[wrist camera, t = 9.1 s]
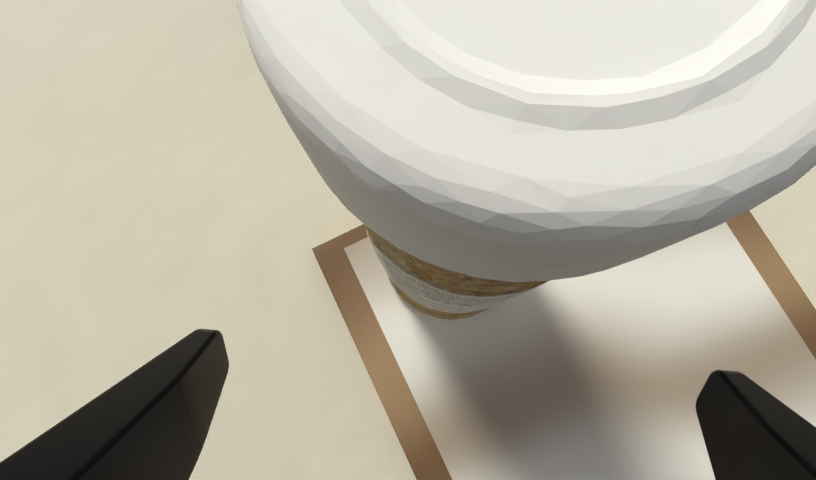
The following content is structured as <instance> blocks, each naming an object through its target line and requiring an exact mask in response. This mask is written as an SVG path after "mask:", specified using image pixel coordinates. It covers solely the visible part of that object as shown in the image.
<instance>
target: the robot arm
mask: <svg viewBox="0 0 816 480" xmlns="http://www.w3.org/2000/svg"><path fill="white" fill-rule="evenodd" d="M228 368H229V361H228V356H227V352H226V348H225V344H224V340H223V336H222V334H221V332H220V331H217V330H209V329H198V330H195V331H194V332H192V333H191V334H189V335H188V336H186V337H185V338H183V339H182V340H180V341H179V342H177V343H176V344H174V345H173V346H171V347H170V348H168V349H167V350H166V351H164V352H163V353H161V354H160V355H158V356H157V357H155V358H154V359H152V360H151V361H149V362H148V363H146V364H145V365H143V366H142V367H140V368H139V369H138V370H136V371H135V372H133V373H132V374H130V375H129V376H127V377H126V378H124V379H123V380H121V381H120V382H118V383H117V384H115V385H114V386H112V387H111V388H109V389H108V390H107V391H105V392H104V393H102V394H101V395H99V396H98V397H96V398H95V399H93V400H92V401H90V402H89V403H87V404H86V405H84V406H83V407H81V408H80V409H79V410H77V411H76V412H74V413H73V414H71V415H70V416H68V417H67V418H65V419H64V420H62V421H61V422H59V423H58V424H56V425H55V426H53V427H52V428H50V429H49V430H48V431H46V432H45V433H43V434H42V435H40V436H39V437H37V438H36V439H34V440H33V441H31V442H30V443H28V444H27V445H25V446H24V447H22V448H21V449H20V450H18V451H17V452H15V453H14V454H12V455H11V456H9V457H8V458H6V459H5V460H3V461H2V462H0V480H189V478H190V476H191V473H192V471H193V469H194V467H195V465H196V462H197V460H198V458H199V455H200V453H201V451H202V448H203V445H204V442H205V440H206V437H207V434H208V431H209V428H210V425H211V422H212V419H213V416H214V413H215V410H216V407H217V404H218V401H219V398H220V395H221V392H222V389H223V385H224V382H225V379H226V376H227V373H228ZM696 413H697V417H698V420H699V424H700V427H701V431H702V434H703V438H704V441H705V445H706V448H707V452H708V455H709V459H710V462H711V466H712V469H713V473H714V476H715V480H816V427H815V426H814V425H812V424H811V423H810V422H808V421H807V420H805V419H804V418H803V417H801V416H800V415H799V414H797V413H796V412H795V411H793V410H792V409H791V408H789V407H788V406H786V405H785V404H784V403H782V402H781V401H780V400H778V399H777V398H776V397H774V396H773V395H772V394H770V393H769V392H767V391H766V390H765V389H763V388H762V387H761V386H759V385H758V384H757V383H755V382H754V381H753V380H751V379H750V378H749V377H747V376H746V375H744V374H743V373H741V372H738V371H731V370H714V371H713V372H711V373H710V375H709V377H708V379H707V381H706V382H705V384H704V386H703V388H702V390H701V392H700V394H699V395H698V397H697V400H696Z"/></svg>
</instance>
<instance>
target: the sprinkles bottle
mask: <svg viewBox="0 0 816 480" xmlns="http://www.w3.org/2000/svg"><path fill="white" fill-rule="evenodd" d="M237 4H238V9H239V13H240V16H241V20H242V23H243V26H244V29H245V33H246V36H247V39H248V42H249V45H250V47H251V50H252V53H253V55H254V58H255V60H256V63H257V65H258V67H259V69H260V71H261V73H262V75H263V77H264V79H265V81H266V83H267V85H268V87H269V89H270V91H271V93H272V95H273V97H274V98H275V100H276V102H277V104H278V106H279V107H280V109H281V111H282V113H283V115H284V117H285V118H286V120H287V122H288V124H289V126H290V127H291V129H292V130H293V132H294V134H295V135H296V137H297V139H298V140H299V142H300V143H301V145H302V147H303V148H304V150H305V151H306V153H307V155H308V156H309V158H310V159H311V161H312V163H313V164H314V166H315V168H316V169H317V171H318V172H319V174H320V175H321V177H322V178H323V179H324V181H325V182H326V184H327V185H328V186H329V188H330V189H331V190H332V192H333V193H334V194H335V195H336V196H337V197H338V199H339V200H340V201H341V202H342V203H343V205H344V206H345V207H346V208H347V209H348V210H349V211H350V212H351V213H352V214H354V215H355V216H356V217H357V218H358V219H359V220H360V221H361V222H362V223H364V225H365V228H366V232H367V235H368V238H369V240H370V243H371V245H372V248H373V250H374V252H375V253H376V255H377V257H378V259H379V261H380V262H381V264H382V266H383V267H384V269H385V271H386V273H387V275H388V277H389V280H390V283H391V284H392V286H393V287H394V288H395V290H396V292H397V293H398V294H399V295H400V296H401V298H402V299H404V300H405V301H406V302H407V303H409V304H410V305H411V306H412V307H413V308H414V309H416V310H417V311H419V312H421V313H425V314H428V315H431V316H433V317H436V318H441V319H450V320H453V319H463V318H468V317H471V316H474V315H476V314H477V313H480V312H482V311H485V310H487V309H488V308H490V307H492V306H494V305H497V304H499V303H501V302H503V301H506V300H508V299H511V298H513V297H515V296H518V295H520V294H522V293H525V292H527V291H529V290H532V289H534V288H536V287H538V286H540V285H543V284H545V283H547V282H548V281H550V280H558V279H565V278H573V277H580V276H585V275H589V274H593V273H597V272H601V271H604V270H607V269H610V268H613V267H616V266H619V265H621V264H624V263H627V262H630V261H633V260H636V259H639V258H641V257H644V256H646V255H649V254H651V253H653V252H656V251H658V250H661V249H663V248H665V247H668V246H670V245H673V244H675V243H678V242H680V241H682V240H685V239H687V238H690V237H692V236H694V235H697V234H699V233H702V232H704V231H707V230H709V229H711V228H714V227H716V226H718V225H720V224H722V223H724V222H726V221H728V220H730V219H732V218H735V217H737V216H739V215H741V214H743V213H745V212H747V211H749V210H751V209H753V208H754V207H756V206H758V205H759V204H761V203H763V202H764V201H766V200H768V199H769V198H771V197H773V196H774V195H776V194H778V193H779V192H781V191H783V190H784V189H786V188H788V187H789V186H791V185H793V184H794V183H795V182H796V181H798V180H799V179H800V178H801V177H802V176H803V175H805V174H806V173H807V172H808V171H809V170H810V169H812V168H813V167H814V166H815V165H816V0H237Z"/></svg>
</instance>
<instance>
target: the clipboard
mask: <svg viewBox="0 0 816 480" xmlns="http://www.w3.org/2000/svg"><path fill="white" fill-rule="evenodd" d="M312 250H313V252H314V254H315V256H316V259H317V261H318V263H319V265H320V267H321V270H322V272H323V274H324V276H325V278H326V281H327V283H328V285H329V287H330V289H331V292H332V294H333V296H334V298H335V300H336V303H337V305H338V307H339V309H340V311H341V314H342V316H343V318H344V320H345V322H346V325H347V327H348V329H349V331H350V333H351V336H352V338H353V340H354V342H355V344H356V347H357V349H358V351H359V353H360V355H361V358H362V360H363V362H364V364H365V366H366V369H367V371H368V373H369V375H370V377H371V380H372V382H373V384H374V386H375V388H376V391H377V393H378V395H379V397H380V399H381V402H382V404H383V406H384V408H385V410H386V413H387V415H388V417H389V419H390V421H391V424H392V426H393V428H394V430H395V432H396V435H397V437H398V439H399V441H400V443H401V446H402V448H403V450H404V452H405V454H406V457H407V459H408V461H409V463H410V465H411V468H412V470H413V472H414V474H415V476H416V479H417V480H715V476H714V473H713V469H712V466H711V462H710V459H709V455H708V452H707V448H706V445H705V441H704V438H703V434H702V431H701V427H700V424H699V420H698V417H697V413H696V400H697V397H698V395H699V394H700V392H701V390H702V388H703V386H704V384H705V382H706V381H707V379H708V377H709V375H710V373H711V372H713V371H714V370H731V371H738V372H741V373H743V374H744V375H746V376H747V377H749V378H750V379H751V380H753V381H754V382H755V383H757V384H758V385H759V386H761V387H762V388H763V389H765V390H766V391H767V392H769V393H770V394H772V395H773V396H774V397H776V398H777V399H778V400H780V401H781V402H782V403H784V404H785V405H786V406H788V407H789V408H791V409H792V410H793V411H795V412H796V413H797V414H799V415H800V416H801V417H803V418H804V419H805V420H807V421H808V422H810V423H811V424H812V425H814V426H815V427H816V310H815V308H814V307H813V305H812V304H811V302H810V301H809V299H808V298H807V296H806V295H805V293H804V292H803V290H802V289H801V287H800V286H799V284H798V283H797V281H796V280H795V278H794V277H793V275H792V274H791V272H790V271H789V269H788V268H787V266H786V265H785V263H784V262H783V260H782V259H781V257H780V256H779V254H778V253H777V251H776V250H775V248H774V247H773V245H772V244H771V242H770V241H769V239H768V238H767V236H766V235H765V233H764V232H763V230H762V229H761V228H760V226H759V225H758V223H757V222H756V220H755V219H754V217H753V216H752V214H751V213H750V211H747V212H745V213H743V214H741V215H739V216H737V217H735V218H732V219H730V220H728V221H726V222H724V223H722V224H720V225H718V226H716V227H714V228H711V229H709V230H707V231H704V232H702V233H699V234H697V235H694V236H692V237H690V238H687V239H685V240H682V241H680V242H678V243H675V244H673V245H670V246H668V247H665V248H663V249H661V250H658V251H656V252H653V253H651V254H649V255H646V256H644V257H641V258H639V259H636V260H633V261H630V262H627V263H624V264H621V265H619V266H616V267H613V268H610V269H607V270H604V271H601V272H597V273H593V274H589V275H585V276H580V277H573V278H565V279H558V280H550V281H548V282H547V283H545V284H543V285H540V286H538V287H536V288H534V289H532V290H529V291H527V292H525V293H522V294H520V295H518V296H515V297H513V298H511V299H508V300H506V301H503V302H501V303H499V304H497V305H494V306H492V307H490V308H488V309H487V310H485V311H482V312H480V313H477V314H476V315H474V316H471V317H468V318H463V319H453V320H450V319H441V318H436V317H433V316H431V315H428V314H425V313H421V312H419V311H417V310H416V309H414V308H413V307H412V306H411V305H410V304H409V303H407V302H406V301H405V300H404V299H402V298H401V296H400V295H399V294H398V293H397V292H396V290H395V288H394V287H393V286H392V284H391V283H390V280H389V277H388V275H387V273H386V271H385V269H384V267H383V266H382V264H381V262H380V261H379V259H378V257H377V255H376V253H375V252H374V250H373V248H372V245H371V243H370V240H369V238H368V235H367V232H366V228H365V225H364V224H363V225H361V226H359V227H357V228H355V229H353V230H350V231H348V232H346V233H344V234H342V235H340V236H338V237H336V238H334V239H332V240H330V241H328V242H325V243H323V244H321V245H319V246H317V247H315V248H313V249H312Z"/></svg>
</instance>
